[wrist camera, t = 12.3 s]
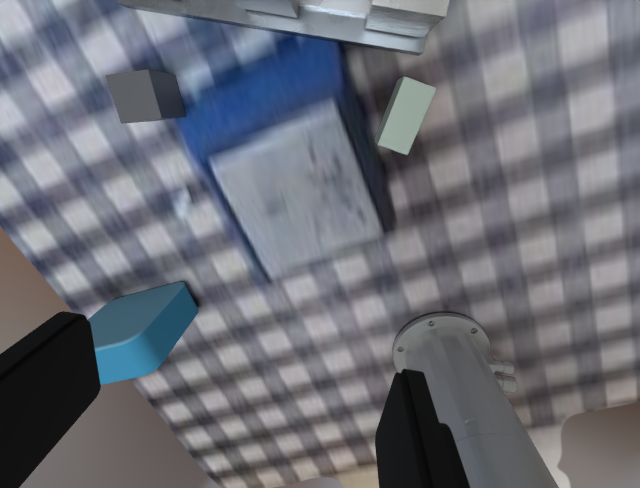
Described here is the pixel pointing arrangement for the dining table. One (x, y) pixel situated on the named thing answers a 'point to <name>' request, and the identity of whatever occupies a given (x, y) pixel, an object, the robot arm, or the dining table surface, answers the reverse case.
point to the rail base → (323, 19)
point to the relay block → (146, 96)
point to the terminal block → (404, 114)
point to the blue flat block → (140, 330)
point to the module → (271, 6)
